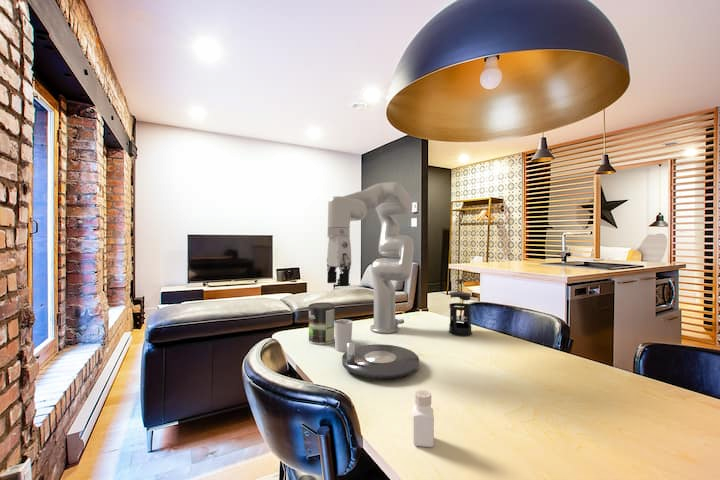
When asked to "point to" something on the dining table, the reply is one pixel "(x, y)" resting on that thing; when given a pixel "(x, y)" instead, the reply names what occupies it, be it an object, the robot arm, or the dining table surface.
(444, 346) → the dining table surface
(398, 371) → the turntable
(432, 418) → the white pill bottle
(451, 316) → the french press
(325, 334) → the coffee can
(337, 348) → the drinking glass
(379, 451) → the dining table surface
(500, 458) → the dining table surface
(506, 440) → the dining table surface
